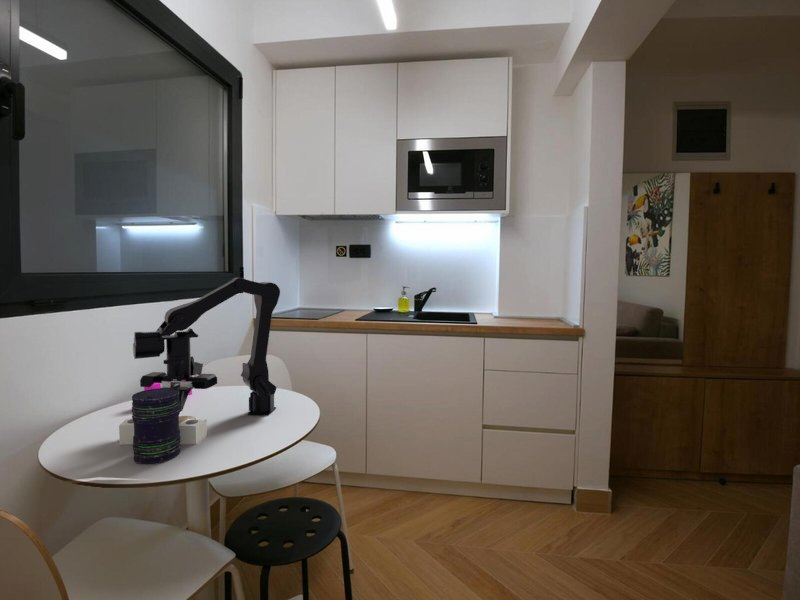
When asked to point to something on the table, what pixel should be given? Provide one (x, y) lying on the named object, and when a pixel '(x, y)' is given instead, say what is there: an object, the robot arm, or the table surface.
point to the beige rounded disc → (185, 418)
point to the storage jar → (156, 425)
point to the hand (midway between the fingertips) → (179, 411)
